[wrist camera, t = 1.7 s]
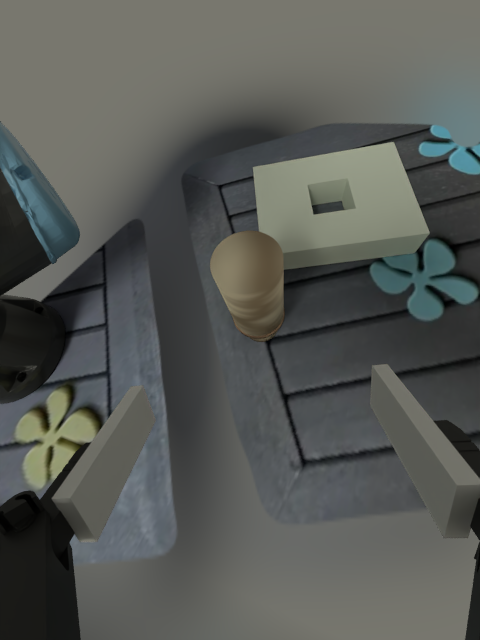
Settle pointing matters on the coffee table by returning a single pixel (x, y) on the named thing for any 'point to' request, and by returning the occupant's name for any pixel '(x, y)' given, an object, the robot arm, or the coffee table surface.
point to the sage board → (358, 202)
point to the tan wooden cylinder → (251, 282)
